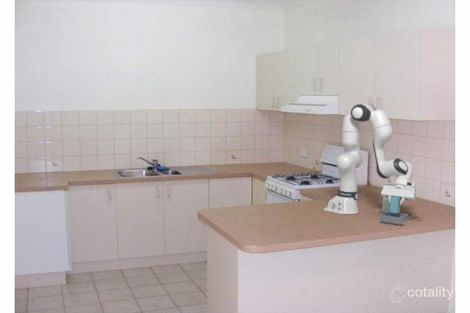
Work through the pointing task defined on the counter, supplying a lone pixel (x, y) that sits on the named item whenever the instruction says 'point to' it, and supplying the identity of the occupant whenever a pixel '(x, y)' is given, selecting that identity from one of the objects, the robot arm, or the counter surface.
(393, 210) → the strut
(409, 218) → the brown wooden lid
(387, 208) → the skincare box
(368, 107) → the robot arm
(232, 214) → the counter surface
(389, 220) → the bin
